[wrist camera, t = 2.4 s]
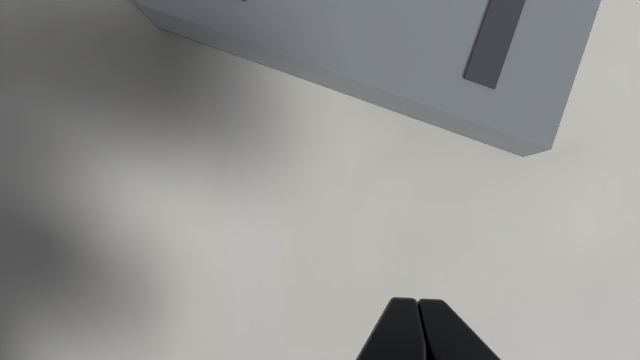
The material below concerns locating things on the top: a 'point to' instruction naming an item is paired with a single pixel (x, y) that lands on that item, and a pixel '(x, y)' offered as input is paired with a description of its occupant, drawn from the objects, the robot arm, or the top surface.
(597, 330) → the top surface
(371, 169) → the top surface
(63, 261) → the top surface
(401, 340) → the robot arm
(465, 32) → the breaker panel
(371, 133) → the top surface
